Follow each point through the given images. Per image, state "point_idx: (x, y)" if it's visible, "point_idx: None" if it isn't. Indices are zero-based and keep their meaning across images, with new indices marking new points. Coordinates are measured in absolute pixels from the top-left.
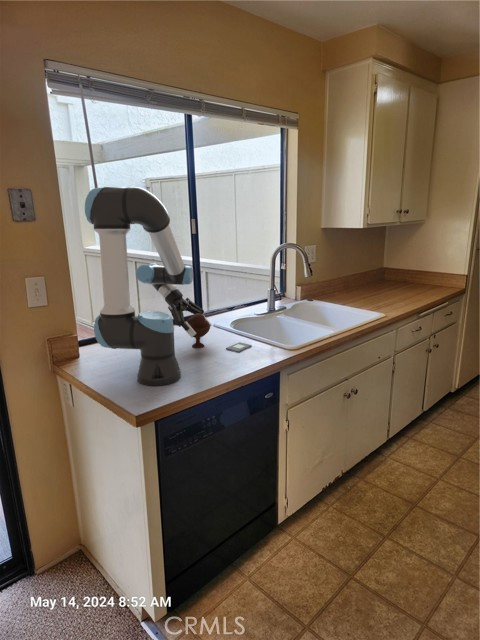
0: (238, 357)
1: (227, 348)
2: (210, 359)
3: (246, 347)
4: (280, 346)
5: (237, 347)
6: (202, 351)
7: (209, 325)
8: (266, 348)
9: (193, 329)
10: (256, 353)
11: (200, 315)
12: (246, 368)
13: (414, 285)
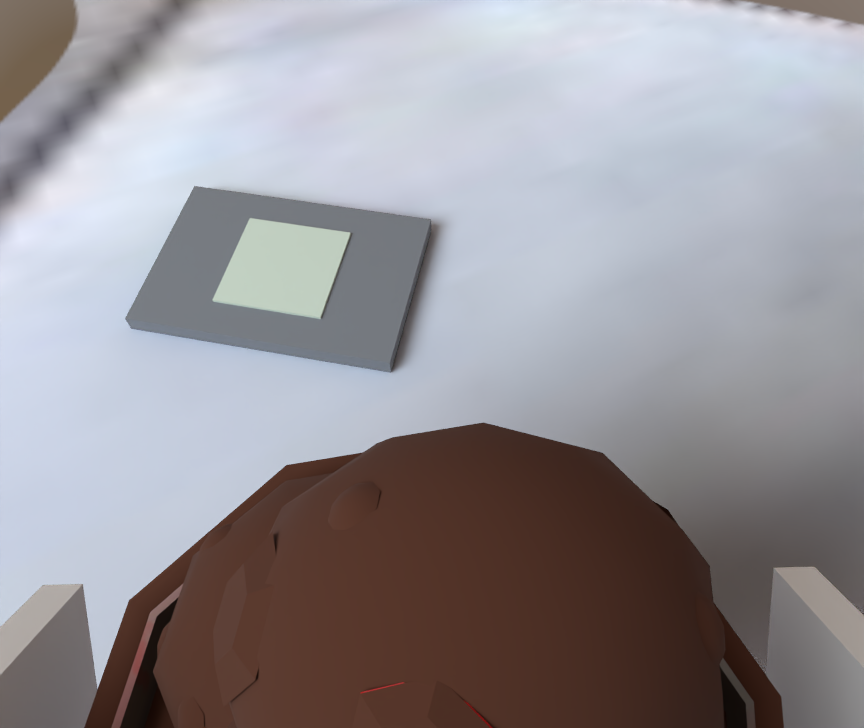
0: (558, 182)
1: (394, 344)
2: (779, 372)
3: (286, 199)
4: (131, 29)
5: (328, 263)
6: None
7: (320, 468)
8: (218, 89)
9: (760, 674)
10: (382, 107)
11: (537, 463)
12: (748, 56)
13: None
